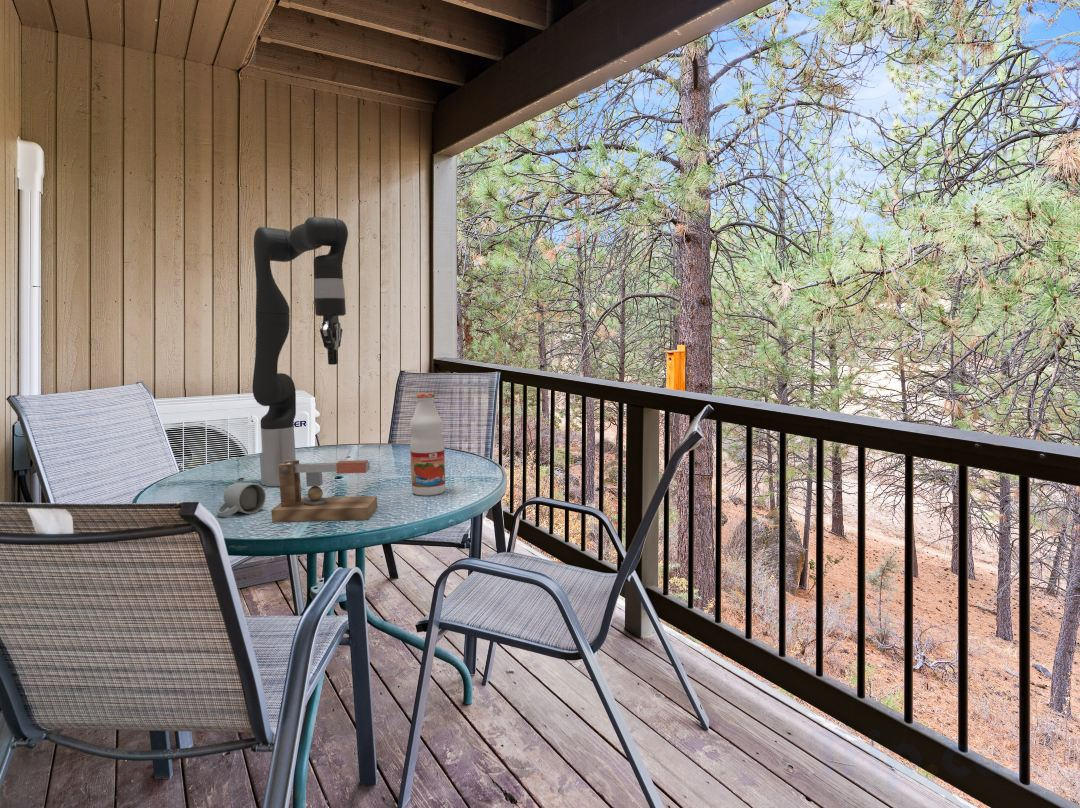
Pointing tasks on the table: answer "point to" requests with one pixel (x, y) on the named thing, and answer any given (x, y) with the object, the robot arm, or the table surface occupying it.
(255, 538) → the table surface
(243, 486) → the ceramic mug
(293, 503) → the base
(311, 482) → the lever
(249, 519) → the table surface
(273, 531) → the table surface
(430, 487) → the fruit juice
